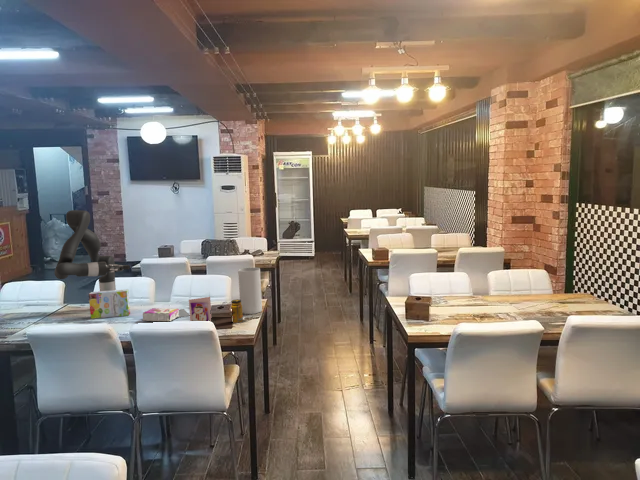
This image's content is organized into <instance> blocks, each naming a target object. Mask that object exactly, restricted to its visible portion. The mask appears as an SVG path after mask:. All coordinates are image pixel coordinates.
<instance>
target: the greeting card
mask: <svg viewBox="0 0 640 480" xmlns="http://www.w3.org/2000/svg"><path fill="white" fill-rule="evenodd" d="M188 306H189V307H188V309H189V310H188V311H189V315H190V316H189V322H190V321H208V320H210V321H211V318H212V313H211V314H210V310H211V311H212V307H211V306H212V303H211V296H207V297H200V298H192V299H188Z"/></svg>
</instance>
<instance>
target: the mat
mask: <svg viewBox="0 0 640 480" xmlns="http://www.w3.org/2000/svg"><path fill="white" fill-rule="evenodd" d="M187 317H190V313H189V312H187V310H185V309H184V308H181V309H179V317H177V318H176V319H181V318H187Z"/></svg>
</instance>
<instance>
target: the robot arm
mask: <svg viewBox="0 0 640 480" xmlns="http://www.w3.org/2000/svg"><path fill="white" fill-rule="evenodd" d="M65 219H66V223H67V225H68V227H69V228H70V229H71V230H72V231H73V234H71V236H70V237H69V238H67V240H66V241H65V242H64V243H63V245H62V248H61V251H60V254H59V255H60V256H59V258H58V259H59V260H58V262H57V264H56V266H55V269H54V273H53V274H54V276H55V278H57V279H59V280H65V279H67V278H68V277H69V276H76V277H99V278H98V286H99V291H112V290H117V289H116V286H117V285H116V273H118V272H123V270H125V271H126V270H130V269H131V266H130V265H129V264H123V265H122V264H116V263H115V258H114V257H113V256H112V255H100V254H99V251H100V250H101V247H102V243H101V240H100V239H99V236H98V235H97V234H96V233H95V232H93V231H92V230H91V229H89V228H88V227H89V225H90V224H91V223H90V222H91V214H90V212H89V211H87V210H82V209H81V210H78V209H73V210H72V209H71V210H68V211H67V213H66V214H65ZM80 243H81V245H82V246H83V248H84V250H85V251H86V252H87V255H88V256H89V257H90V260H91V262H85V263H84V262H83V263H82V262H80V263H75V262H74V260H75V257H76V254H77V250H78V248H79V245H80Z"/></svg>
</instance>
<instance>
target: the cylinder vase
mask: <svg viewBox="0 0 640 480" xmlns="http://www.w3.org/2000/svg"><path fill="white" fill-rule="evenodd" d="M237 273H238V275H237V277H238V287H239V290H238V291H239V300H241V305H242V311H243V314H244V315H257V314H260V313H261V312H262V311H263V303H262V302H263V300H262V281H261V279H262V278H261V268H260V267H243V268H239V269H238V270H237Z"/></svg>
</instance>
